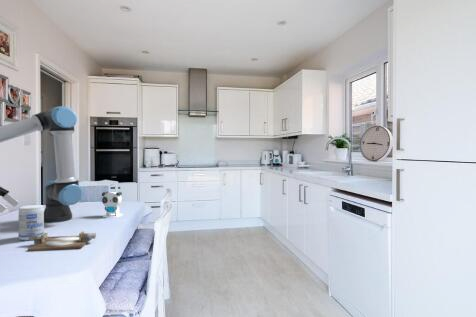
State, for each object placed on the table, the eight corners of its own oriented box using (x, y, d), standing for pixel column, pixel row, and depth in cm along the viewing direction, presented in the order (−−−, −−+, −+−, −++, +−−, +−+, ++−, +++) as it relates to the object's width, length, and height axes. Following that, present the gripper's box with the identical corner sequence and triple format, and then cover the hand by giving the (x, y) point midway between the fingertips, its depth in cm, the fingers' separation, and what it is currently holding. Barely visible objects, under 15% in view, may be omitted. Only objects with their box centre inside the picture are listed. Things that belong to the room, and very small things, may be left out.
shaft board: (40, 239, 130) (39, 229, 130) (100, 236, 134) (100, 227, 134) (19, 251, 114) (19, 240, 114) (88, 248, 119) (88, 237, 118)
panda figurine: (97, 217, 173) (97, 192, 173) (109, 213, 184) (109, 190, 184) (115, 218, 171) (115, 193, 171) (126, 214, 182) (126, 191, 182)
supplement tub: (28, 242, 126) (28, 209, 125) (13, 239, 129) (12, 207, 128) (48, 235, 135) (48, 205, 135) (34, 233, 138) (34, 203, 138)
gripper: (-24, 178, 134) (15, 208, 139) (-58, 184, 110) (-10, 220, 116) (-10, 167, 136) (27, 197, 141) (-41, 170, 112) (5, 206, 117)
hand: (10, 207), depth 128 cm, fingers open, 13 cm apart
